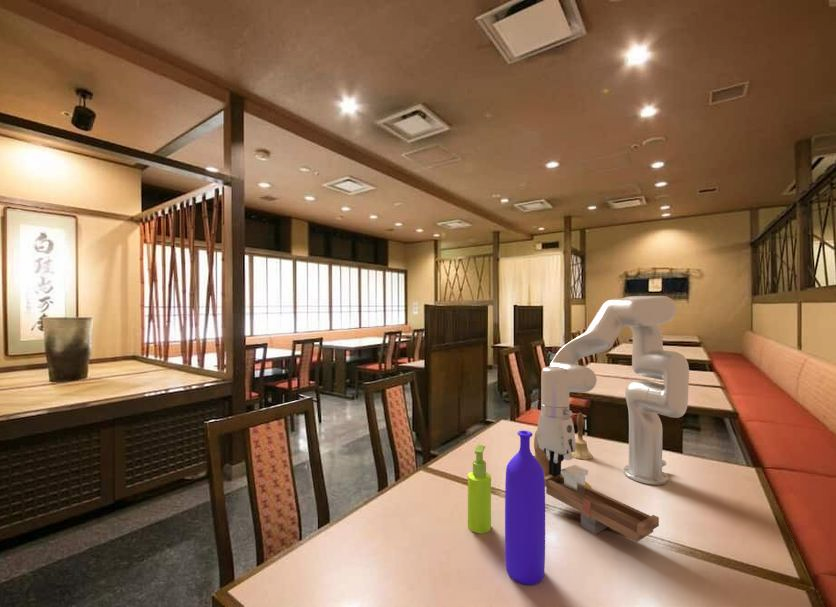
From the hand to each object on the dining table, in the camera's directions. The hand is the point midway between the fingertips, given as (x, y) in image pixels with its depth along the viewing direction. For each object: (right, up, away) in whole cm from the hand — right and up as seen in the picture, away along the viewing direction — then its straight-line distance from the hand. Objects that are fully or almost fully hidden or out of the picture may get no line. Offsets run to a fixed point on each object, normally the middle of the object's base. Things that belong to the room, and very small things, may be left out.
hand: (554, 474), depth 107 cm
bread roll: (+9, -9, +8) cm, 15 cm away
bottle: (-16, -9, -27) cm, 33 cm away
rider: (+3, -2, -5) cm, 7 cm away
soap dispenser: (-23, -9, -10) cm, 27 cm away
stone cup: (+3, -9, +19) cm, 21 cm away
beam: (+7, -9, -11) cm, 15 cm away
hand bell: (+22, -9, +34) cm, 42 cm away
